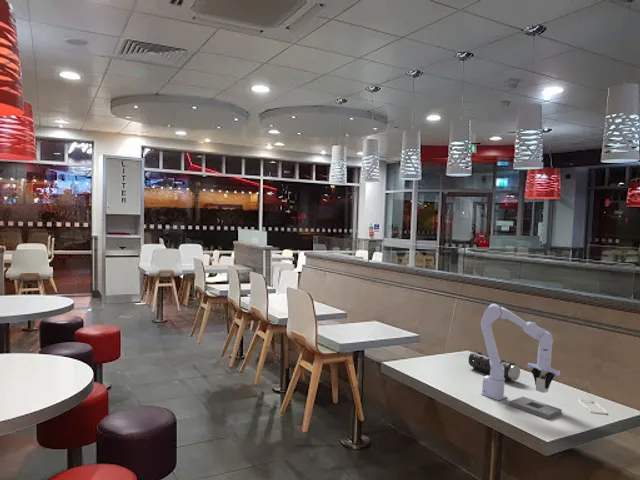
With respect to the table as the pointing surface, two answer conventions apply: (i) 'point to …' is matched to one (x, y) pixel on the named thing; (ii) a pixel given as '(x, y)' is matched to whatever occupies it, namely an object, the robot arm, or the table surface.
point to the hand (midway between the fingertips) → (542, 386)
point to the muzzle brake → (483, 365)
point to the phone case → (594, 411)
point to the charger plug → (541, 384)
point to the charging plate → (543, 410)
